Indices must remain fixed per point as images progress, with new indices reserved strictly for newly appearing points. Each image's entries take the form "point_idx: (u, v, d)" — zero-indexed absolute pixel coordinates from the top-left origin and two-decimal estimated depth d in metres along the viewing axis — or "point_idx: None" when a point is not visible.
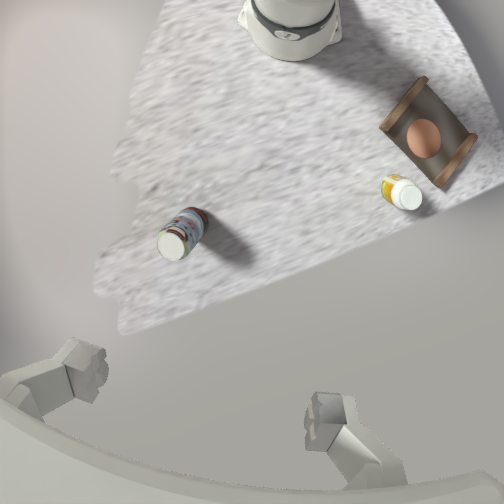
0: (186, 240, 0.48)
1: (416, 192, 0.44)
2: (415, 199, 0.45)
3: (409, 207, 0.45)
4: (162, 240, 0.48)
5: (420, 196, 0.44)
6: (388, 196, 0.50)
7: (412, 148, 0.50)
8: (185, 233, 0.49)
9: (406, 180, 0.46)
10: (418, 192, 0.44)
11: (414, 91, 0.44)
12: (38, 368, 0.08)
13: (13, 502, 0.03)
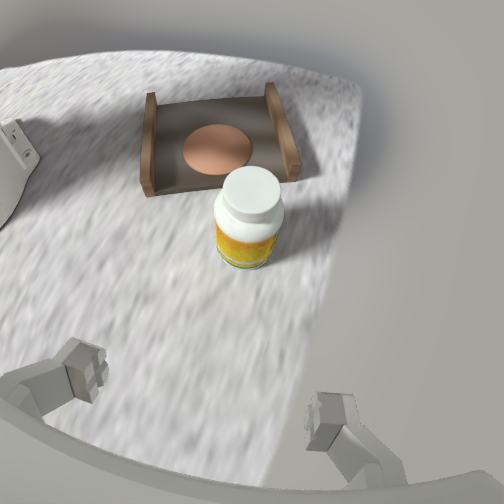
0: None
1: (250, 174, 0.21)
2: (260, 184, 0.21)
3: (266, 204, 0.20)
4: None
5: (263, 172, 0.21)
6: (233, 247, 0.24)
7: (213, 171, 0.32)
8: None
9: None
10: (252, 170, 0.21)
11: (146, 114, 0.32)
12: (38, 368, 0.08)
13: (13, 502, 0.03)
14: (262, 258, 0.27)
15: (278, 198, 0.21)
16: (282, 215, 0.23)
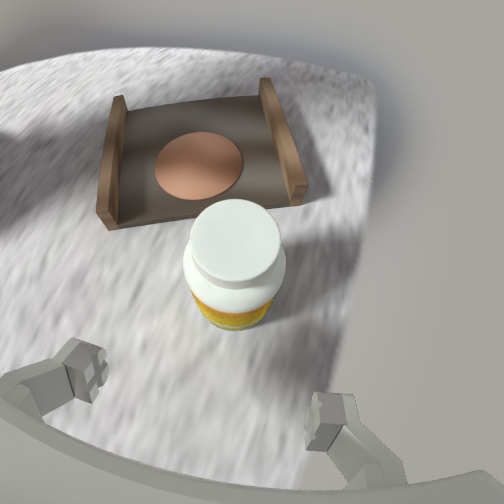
0: None
1: (232, 212, 0.14)
2: (249, 229, 0.14)
3: (258, 265, 0.13)
4: None
5: (253, 209, 0.14)
6: (214, 314, 0.17)
7: (192, 195, 0.24)
8: None
9: None
10: (236, 207, 0.14)
11: (110, 123, 0.25)
12: (38, 368, 0.08)
13: (13, 502, 0.03)
14: (256, 320, 0.19)
15: (276, 253, 0.13)
16: (283, 270, 0.16)
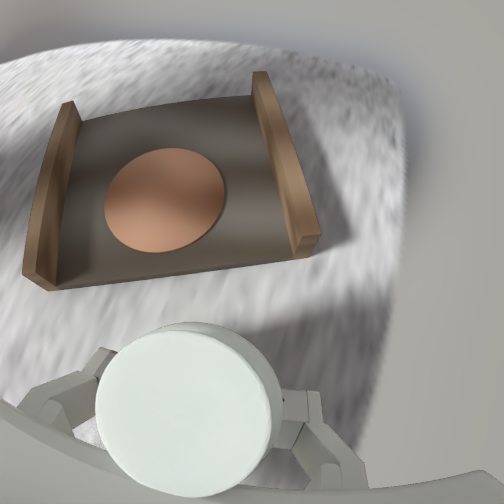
0: None
1: (172, 364, 0.06)
2: (206, 403, 0.06)
3: (225, 474, 0.05)
4: None
5: (215, 356, 0.06)
6: None
7: (151, 245, 0.17)
8: None
9: None
10: (179, 350, 0.06)
11: (51, 140, 0.17)
12: (68, 381, 0.08)
13: (13, 502, 0.03)
14: None
15: (262, 451, 0.06)
16: (277, 429, 0.08)
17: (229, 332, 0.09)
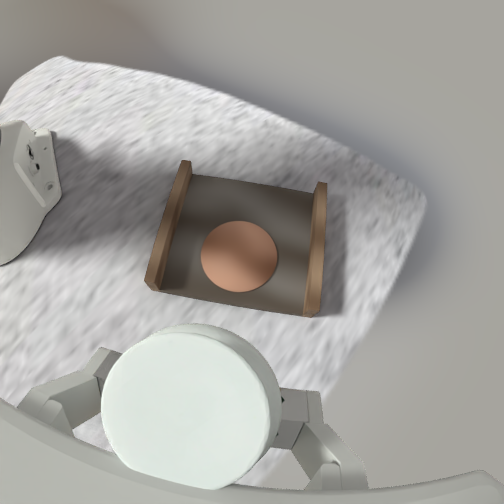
0: None
1: (174, 364, 0.07)
2: (207, 402, 0.06)
3: (225, 470, 0.06)
4: None
5: (216, 357, 0.07)
6: None
7: (226, 285, 0.30)
8: None
9: None
10: (182, 352, 0.07)
11: (173, 191, 0.31)
12: (68, 381, 0.08)
13: (13, 502, 0.03)
14: None
15: (261, 448, 0.06)
16: (276, 428, 0.08)
17: (229, 333, 0.09)
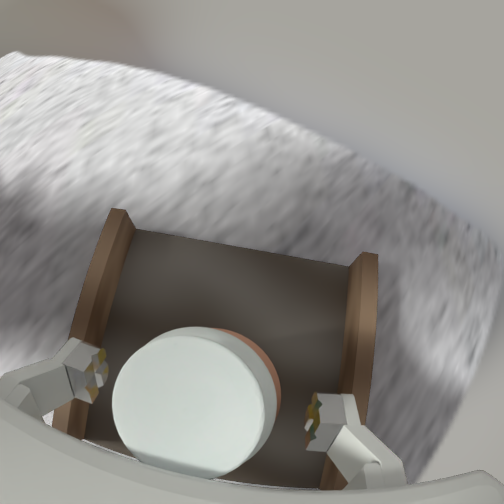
0: None
1: (179, 365, 0.07)
2: (208, 398, 0.07)
3: (225, 460, 0.06)
4: None
5: (216, 358, 0.07)
6: None
7: None
8: None
9: None
10: (186, 353, 0.07)
11: (90, 274, 0.16)
12: (38, 368, 0.08)
13: (13, 502, 0.03)
14: None
15: (256, 440, 0.07)
16: (271, 423, 0.09)
17: (229, 336, 0.10)
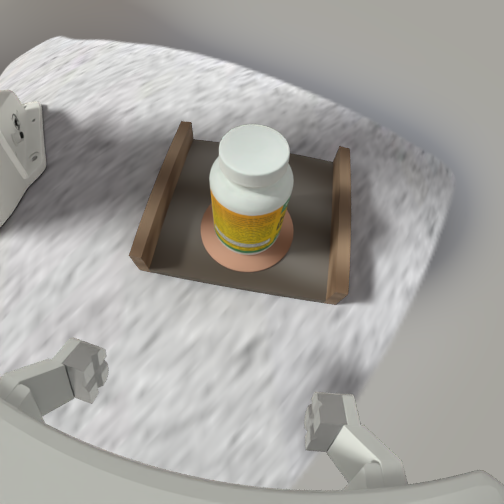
0: None
1: (251, 132, 0.17)
2: (265, 143, 0.17)
3: (273, 165, 0.16)
4: None
5: (267, 130, 0.17)
6: (233, 224, 0.20)
7: (230, 263, 0.24)
8: None
9: None
10: (254, 128, 0.17)
11: (169, 154, 0.26)
12: (38, 368, 0.08)
13: (13, 502, 0.03)
14: (268, 239, 0.23)
15: (286, 158, 0.17)
16: (291, 183, 0.19)
17: None
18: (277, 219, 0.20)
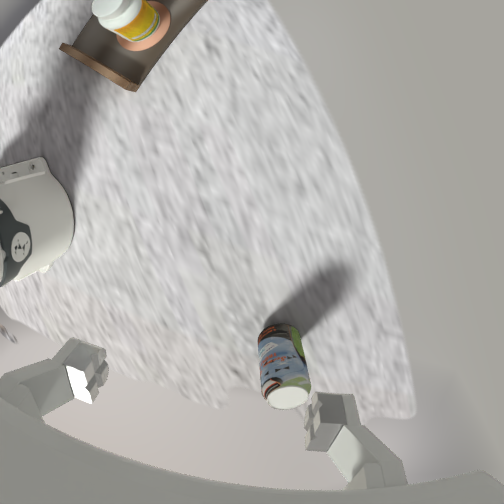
0: (281, 380, 0.33)
1: (98, 0, 0.20)
2: None
3: None
4: (278, 405, 0.34)
5: None
6: (137, 25, 0.26)
7: (157, 39, 0.30)
8: (271, 378, 0.34)
9: None
10: None
11: (77, 57, 0.29)
12: (38, 368, 0.08)
13: (13, 502, 0.03)
14: (154, 13, 0.27)
15: None
16: None
17: None
18: (146, 4, 0.24)
